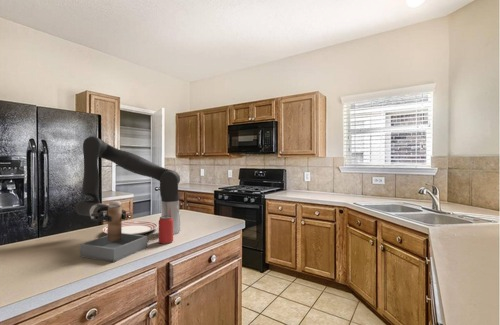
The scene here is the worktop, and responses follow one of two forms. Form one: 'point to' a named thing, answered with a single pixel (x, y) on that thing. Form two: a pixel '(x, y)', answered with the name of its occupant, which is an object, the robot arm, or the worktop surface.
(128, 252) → the bin
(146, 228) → the dinner plate
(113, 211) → the pepper mill
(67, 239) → the worktop surface
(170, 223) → the beer can
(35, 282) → the worktop surface
